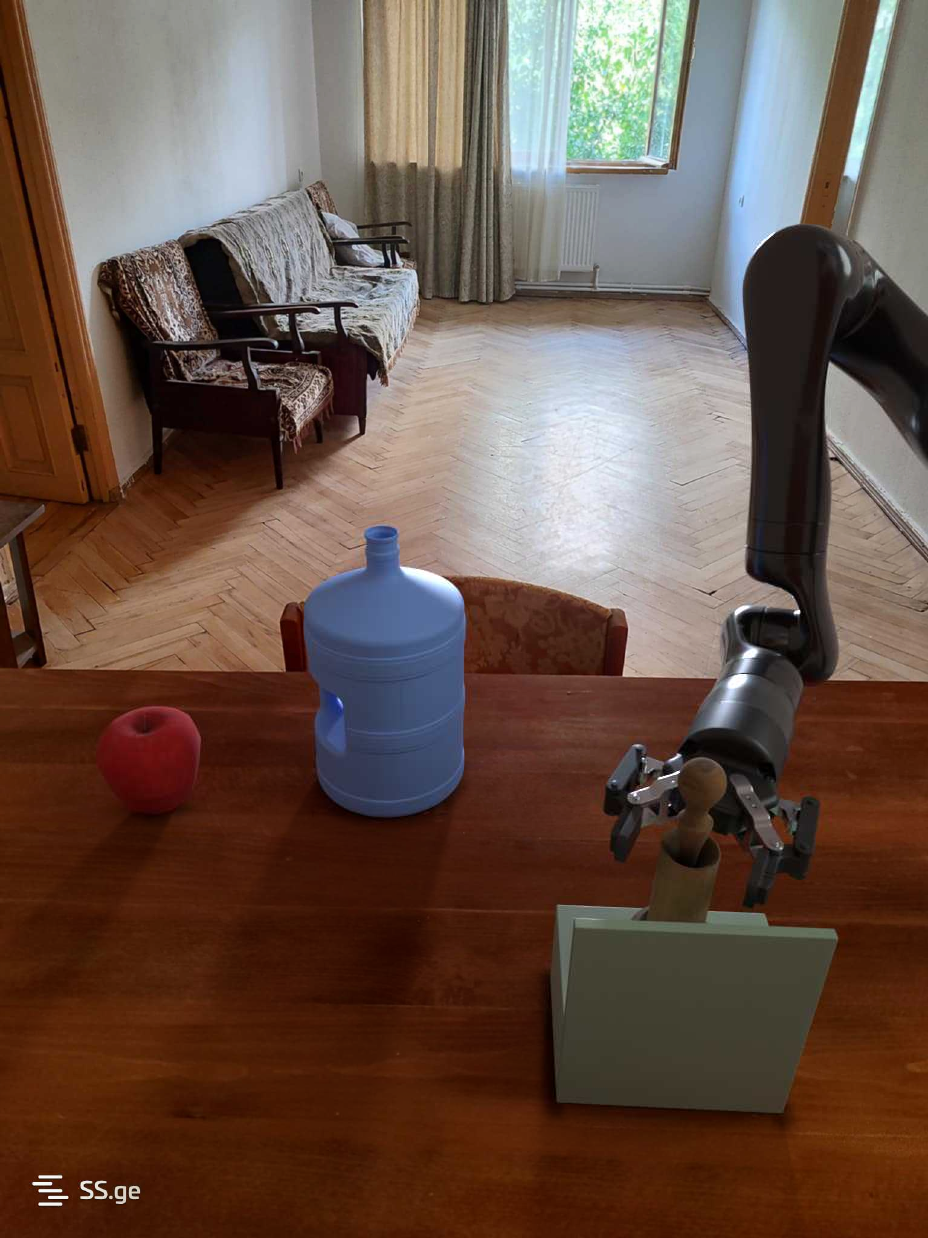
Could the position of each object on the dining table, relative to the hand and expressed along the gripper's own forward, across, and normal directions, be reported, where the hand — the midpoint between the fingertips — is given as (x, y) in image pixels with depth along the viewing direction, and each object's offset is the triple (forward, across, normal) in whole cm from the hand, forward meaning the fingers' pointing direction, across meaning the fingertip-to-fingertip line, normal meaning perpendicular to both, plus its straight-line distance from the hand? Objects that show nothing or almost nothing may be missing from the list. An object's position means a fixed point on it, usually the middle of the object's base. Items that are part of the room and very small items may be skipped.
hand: (683, 875), depth 57 cm
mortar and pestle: (-2, 0, +11) cm, 11 cm away
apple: (-4, -53, +19) cm, 56 cm away
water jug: (-19, -34, +19) cm, 44 cm away
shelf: (-2, 0, +19) cm, 19 cm away
